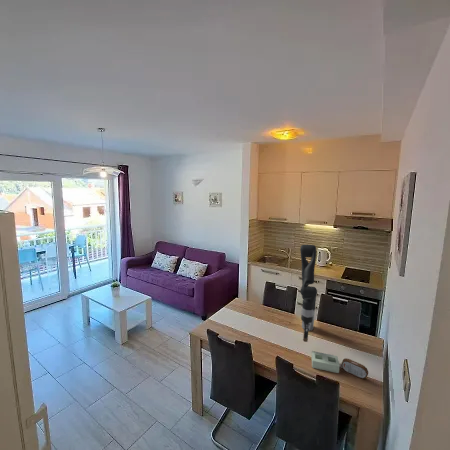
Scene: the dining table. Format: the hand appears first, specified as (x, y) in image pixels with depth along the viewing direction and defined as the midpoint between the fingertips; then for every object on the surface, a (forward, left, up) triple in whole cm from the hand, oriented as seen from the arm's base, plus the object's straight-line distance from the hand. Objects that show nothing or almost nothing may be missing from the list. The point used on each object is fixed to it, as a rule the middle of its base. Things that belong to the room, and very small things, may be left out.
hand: (305, 336), depth 174 cm
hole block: (+8, +13, -13) cm, 20 cm away
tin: (+11, +30, -13) cm, 34 cm away
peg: (0, 0, -3) cm, 3 cm away
